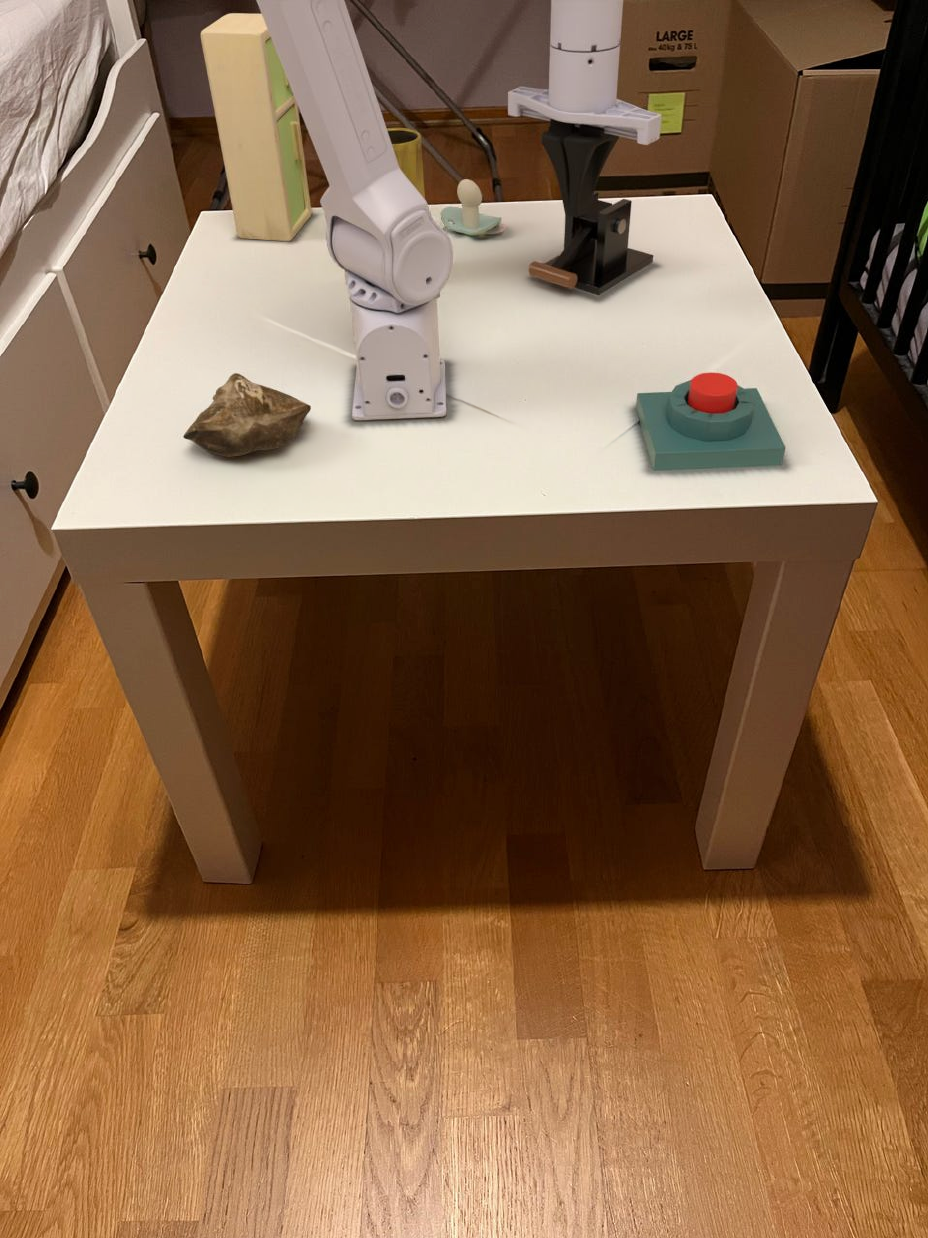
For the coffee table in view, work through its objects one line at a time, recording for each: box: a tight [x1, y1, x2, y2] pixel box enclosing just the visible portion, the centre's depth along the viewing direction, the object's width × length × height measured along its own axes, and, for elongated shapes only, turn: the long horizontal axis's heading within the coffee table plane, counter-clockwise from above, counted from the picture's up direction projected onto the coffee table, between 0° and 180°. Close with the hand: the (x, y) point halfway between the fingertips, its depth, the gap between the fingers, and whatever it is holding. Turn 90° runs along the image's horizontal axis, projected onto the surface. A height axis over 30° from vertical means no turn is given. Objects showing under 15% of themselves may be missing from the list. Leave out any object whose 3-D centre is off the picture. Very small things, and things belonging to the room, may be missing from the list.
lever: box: [528, 199, 613, 289], centre depth 98 cm, size 10×5×2 cm, turn 140°
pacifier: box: [440, 178, 506, 237], centre depth 109 cm, size 7×6×6 cm
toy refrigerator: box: [200, 12, 312, 242], centre depth 107 cm, size 8×7×21 cm
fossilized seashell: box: [183, 372, 312, 457], centre depth 79 cm, size 8×7×10 cm
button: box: [688, 371, 739, 414], centre depth 76 cm, size 4×4×2 cm
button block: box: [635, 379, 786, 472], centre depth 78 cm, size 9×10×4 cm
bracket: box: [543, 190, 654, 296], centre depth 100 cm, size 10×8×7 cm
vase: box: [386, 127, 426, 200], centre depth 98 cm, size 6×6×14 cm
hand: (576, 212), depth 89 cm, fingers closed
